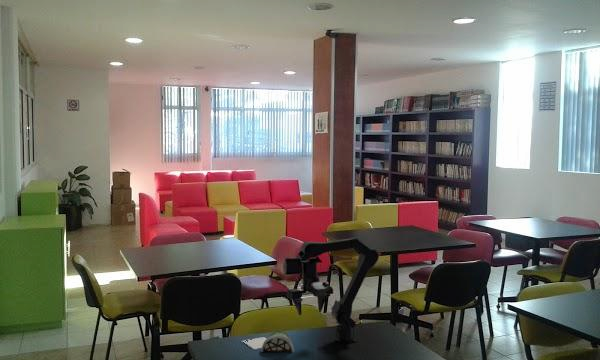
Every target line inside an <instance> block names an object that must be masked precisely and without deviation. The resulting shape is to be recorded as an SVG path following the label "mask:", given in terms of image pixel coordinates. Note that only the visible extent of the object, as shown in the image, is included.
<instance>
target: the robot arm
mask: <svg viewBox="0 0 600 360" xmlns="http://www.w3.org/2000/svg"><path fill="white" fill-rule="evenodd" d="M350 249H353V251H354V252H355V253H357V254H358V258H357V266H356V269H355V271H354V273H353V275H352V277H351V279H350V281H349V283H348V285H347V288H346V290H345V292H344V293H343V296H342V297H341V299H340V300H335V301H334V302H333V303H334V304H333V306H332V307H331V308H330V309H331V318H333V320H335V322H336V324H337V325H336V330H335V338H334V341H336V342H339V343H340V344H343V345H346V344H350V343H355V342H357V339H355V327H356V324H357V323H356V322H355V320H354V319H352V318H351V316H352V312H353V303H354V302H355V299H356V298H357V295H358V293H359V291H360V289H361V287H362V284H363V283H364V281H365V278H366V277H367V274H368V272H369V271H370V270H371V269H373V268H374V266H375V265H376V264H377V262H378V261H379V257H380V255H379V253H378V251H377V250H376V249H373V248H370V247H369V246H367V245H366V244H364V243H363V242H361V241H360V240H359V239H358V238H356V237H349V238H345V239H336V240H331V241H324V242H323V241H322V242H321V241H305V242H302V244H301V246H300V250H299V252H298V253H297V255H296V256H295V257H284V262H283V265H282V269H283V270H282V271H283V275H284V276H297V275H298V276H299V275H300V274H302V275H301V276H300V279H301V280H302V286H301V287H300V289H297V288H290V289H287V290H286V292H285V294H286V296H285V297H286V298H288V299H289V300H291V301H292V303H293V304H294V306H295V308H296V311H297V313H298V315H299V316H302V303H303V298H302V297H303V296H306V295H308V296H309V295H313V297H317V309H318V312H319V313H322V311H323V308H324V305H325V302H326V300H327V298H329V297H331V295H333V294H334V289H333V287H332V286H331V285H330V283H329V282H328V281H324V282H320V277H319V276H318V264H319V263H323V260H321V259H320V258H319V257H320V256H321V255H323V254H325V253H329V252H330V253H332V252H337V251H342V250H350Z"/></svg>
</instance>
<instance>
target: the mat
mask: <svg viewBox="0 0 600 360" xmlns="http://www.w3.org/2000/svg"><path fill="white" fill-rule="evenodd" d="M267 338H268V337H267ZM267 338H266V337H265V336H262V337H255V338H251V339H252V340H250V339H245V340H241V342H242V343H243V342H244V343H245V344H244V343H243V344H244V345H246V344H247V345H248V346H247V345H246V346H247V347H248V348H250V347H251V348H250V349H251V350H253V351H257V350H262V345H263V343H264V341H265V340H266V339H267ZM246 340H248V342H247V341H246ZM245 341H246V342H245Z"/></svg>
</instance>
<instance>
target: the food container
mask: <svg viewBox="0 0 600 360" xmlns="http://www.w3.org/2000/svg"><path fill="white" fill-rule="evenodd" d="M264 352H273V353H281V352H282V353H283V352H285V353H286V352H288V353H294V352H295V348H294V344H293V343H292V340H291V337H290V335H288V333H286V332H285V331H281V330H277V331H274V332H273V333H271V334H270V335H269V336H268V337H267V339H266V340H265V341H264V343H263V345H262V349H261V353H264Z"/></svg>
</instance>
